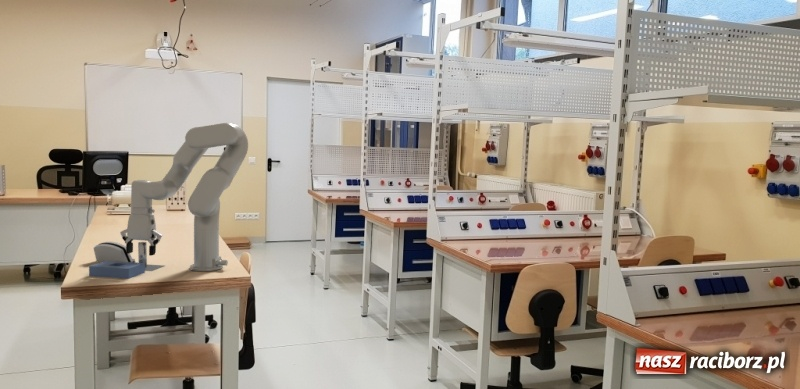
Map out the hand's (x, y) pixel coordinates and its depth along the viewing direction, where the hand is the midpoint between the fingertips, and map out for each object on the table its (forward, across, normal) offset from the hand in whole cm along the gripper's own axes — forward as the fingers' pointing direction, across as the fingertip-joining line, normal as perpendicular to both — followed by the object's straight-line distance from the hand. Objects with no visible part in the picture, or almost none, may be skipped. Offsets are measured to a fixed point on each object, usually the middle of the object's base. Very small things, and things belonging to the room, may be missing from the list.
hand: (140, 254), depth 227 cm
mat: (+6, -1, 0) cm, 6 cm away
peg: (+5, -1, 0) cm, 5 cm away
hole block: (+6, +1, +13) cm, 14 cm away
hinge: (+6, +16, -6) cm, 18 cm away
